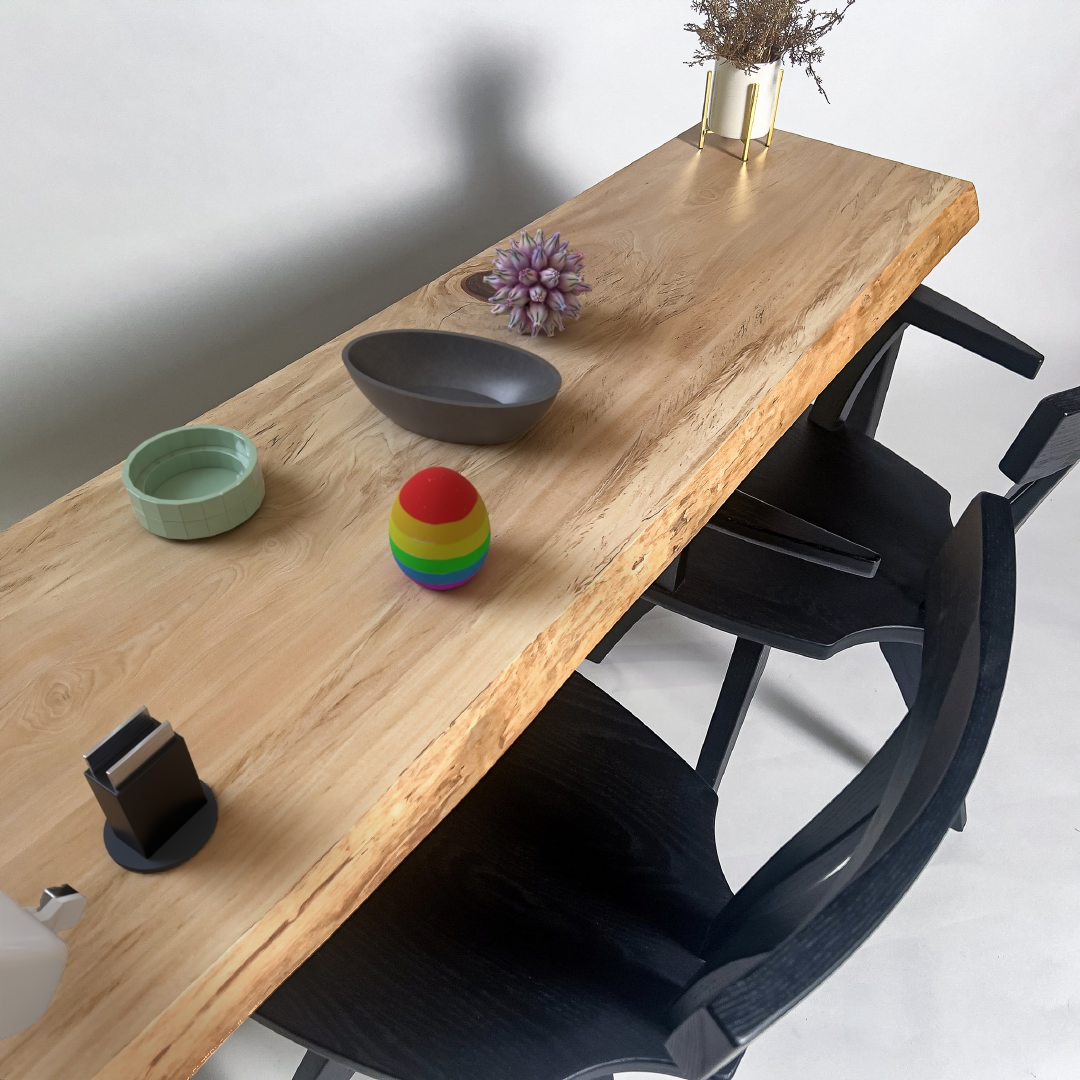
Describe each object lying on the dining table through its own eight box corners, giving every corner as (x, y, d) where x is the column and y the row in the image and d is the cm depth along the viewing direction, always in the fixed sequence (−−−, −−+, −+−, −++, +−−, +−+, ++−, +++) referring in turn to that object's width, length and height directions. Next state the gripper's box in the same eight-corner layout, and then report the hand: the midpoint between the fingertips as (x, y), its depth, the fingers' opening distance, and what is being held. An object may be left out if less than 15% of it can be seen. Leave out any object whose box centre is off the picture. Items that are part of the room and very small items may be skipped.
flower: (585, 322, 114) (590, 356, 104) (483, 316, 114) (478, 350, 103) (594, 221, 108) (600, 247, 98) (486, 215, 108) (482, 240, 98)
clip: (147, 860, 60) (108, 781, 54) (115, 836, 61) (74, 756, 55) (208, 801, 63) (178, 721, 57) (176, 780, 64) (143, 698, 59)
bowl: (538, 478, 90) (539, 423, 85) (325, 430, 95) (316, 376, 90) (576, 408, 98) (579, 355, 94) (379, 368, 103) (373, 315, 99)
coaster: (146, 895, 59) (144, 891, 59) (83, 828, 62) (81, 824, 62) (240, 818, 63) (239, 813, 63) (176, 759, 66) (174, 754, 66)
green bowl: (185, 563, 80) (173, 522, 77) (110, 506, 86) (95, 466, 83) (292, 498, 87) (284, 458, 84) (215, 448, 92) (205, 409, 89)
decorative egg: (372, 569, 80) (359, 474, 74) (443, 522, 85) (437, 428, 78) (440, 618, 76) (433, 522, 70) (511, 566, 81) (511, 471, 74)
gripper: (-412, 860, 44) (-114, 819, 57) (-161, 1133, 36) (120, 1015, 49) (-361, 735, 44) (-74, 722, 57) (-98, 982, 36) (168, 902, 49)
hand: (18, 859), depth 53 cm, fingers open, 8 cm apart
